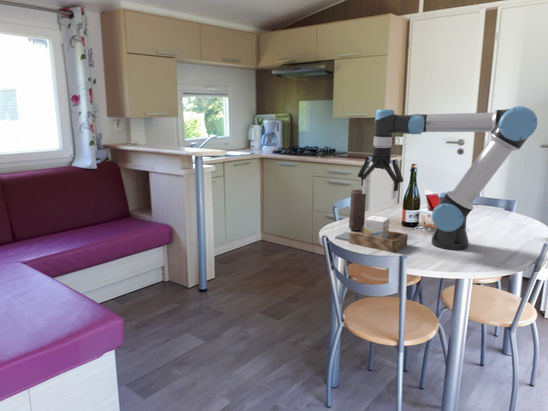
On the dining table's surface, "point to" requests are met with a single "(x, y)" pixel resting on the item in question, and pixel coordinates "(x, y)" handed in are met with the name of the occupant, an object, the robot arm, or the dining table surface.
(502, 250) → the dining table surface
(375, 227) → the ink box
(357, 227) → the candle
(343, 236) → the slate pad
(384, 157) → the robot arm
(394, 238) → the wooden tray
